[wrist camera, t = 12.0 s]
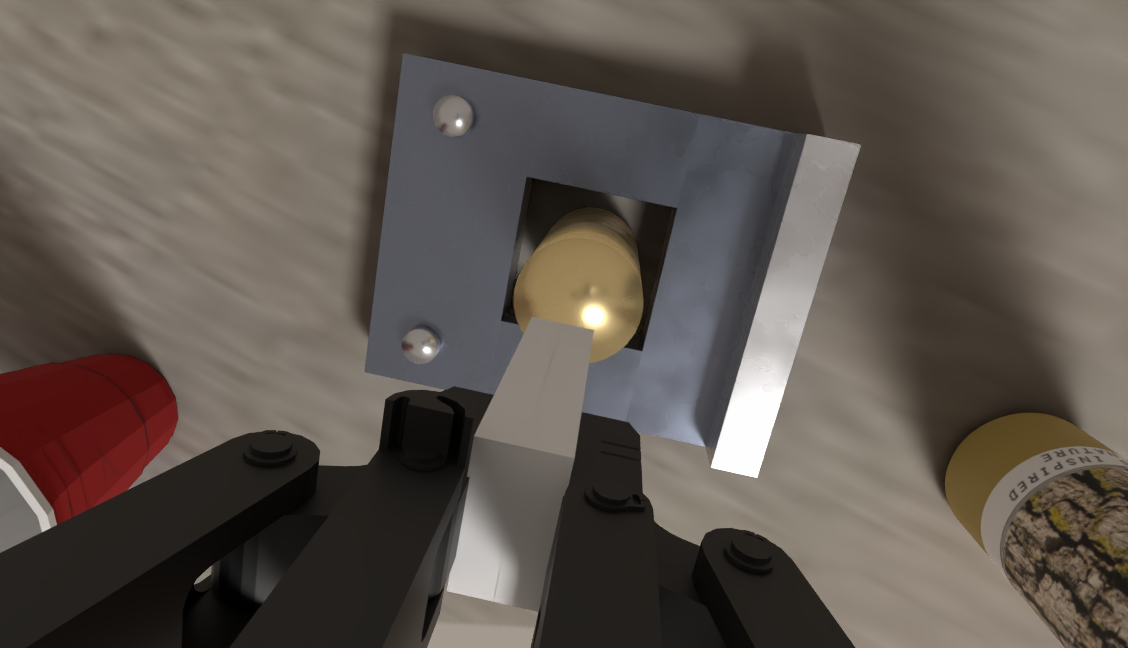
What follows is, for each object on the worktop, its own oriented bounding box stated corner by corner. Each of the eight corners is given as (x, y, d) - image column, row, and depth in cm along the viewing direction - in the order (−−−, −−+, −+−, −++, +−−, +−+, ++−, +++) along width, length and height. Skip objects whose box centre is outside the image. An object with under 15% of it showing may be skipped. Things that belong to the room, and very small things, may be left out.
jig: (826, 142, 30) (861, 144, 25) (740, 432, 34) (756, 477, 29) (420, 58, 30) (386, 47, 26) (382, 354, 34) (347, 387, 30)
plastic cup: (123, 530, 38) (-91, 702, 27) (-9, 372, 36) (-302, 486, 25) (270, 443, 36) (103, 591, 25) (137, 269, 34) (-112, 342, 23)
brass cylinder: (647, 218, 31) (656, 252, 23) (626, 310, 32) (627, 375, 24) (552, 198, 31) (525, 225, 23) (535, 290, 33) (503, 349, 24)
